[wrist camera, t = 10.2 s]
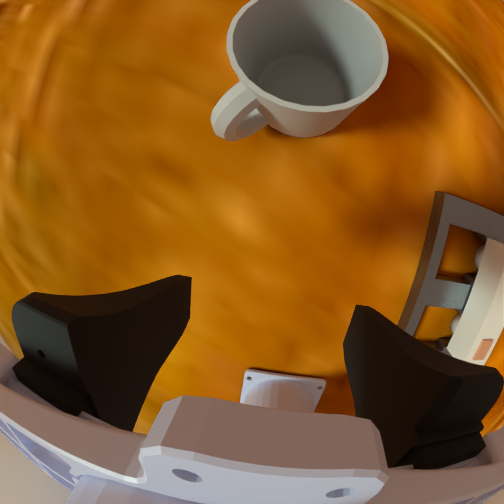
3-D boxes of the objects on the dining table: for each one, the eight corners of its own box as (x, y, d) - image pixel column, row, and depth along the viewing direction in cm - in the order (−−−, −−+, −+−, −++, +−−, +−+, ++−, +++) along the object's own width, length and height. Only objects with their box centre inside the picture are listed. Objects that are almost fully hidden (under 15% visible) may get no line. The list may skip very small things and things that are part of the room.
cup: (367, 106, 17) (417, 68, 8) (263, 180, 19) (244, 187, 11) (305, 39, 16) (313, -29, 7) (204, 109, 18) (149, 74, 10)
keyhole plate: (465, 358, 21) (471, 366, 20) (383, 358, 22) (387, 368, 21) (515, 222, 17) (525, 226, 15) (435, 191, 18) (445, 192, 16)
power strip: (461, 339, 21) (484, 367, 16) (439, 338, 21) (461, 369, 16) (497, 240, 18) (531, 256, 12) (476, 232, 18) (511, 249, 13)
